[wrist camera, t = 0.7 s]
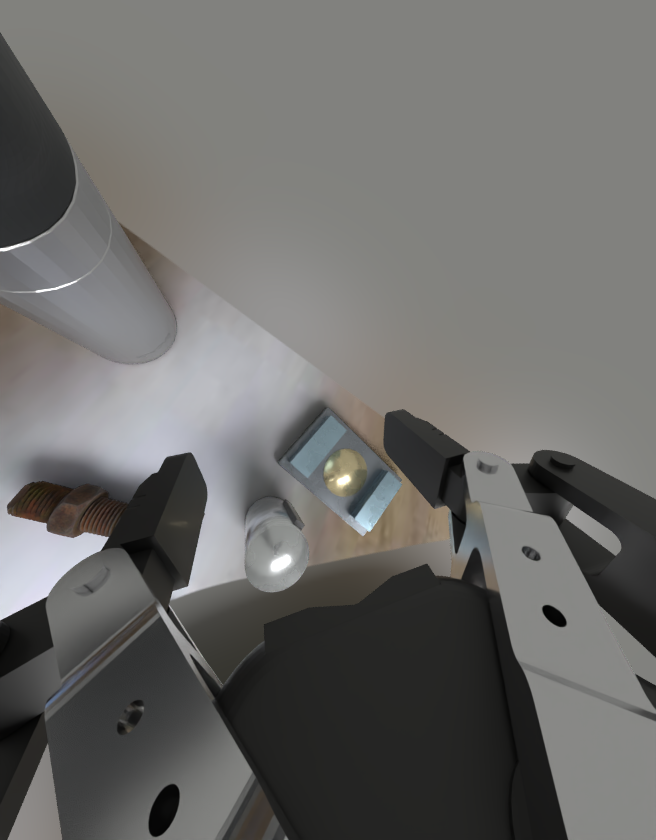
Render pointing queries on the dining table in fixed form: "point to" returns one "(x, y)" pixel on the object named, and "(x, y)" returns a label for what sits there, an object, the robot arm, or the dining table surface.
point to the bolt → (68, 508)
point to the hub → (274, 545)
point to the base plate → (342, 471)
